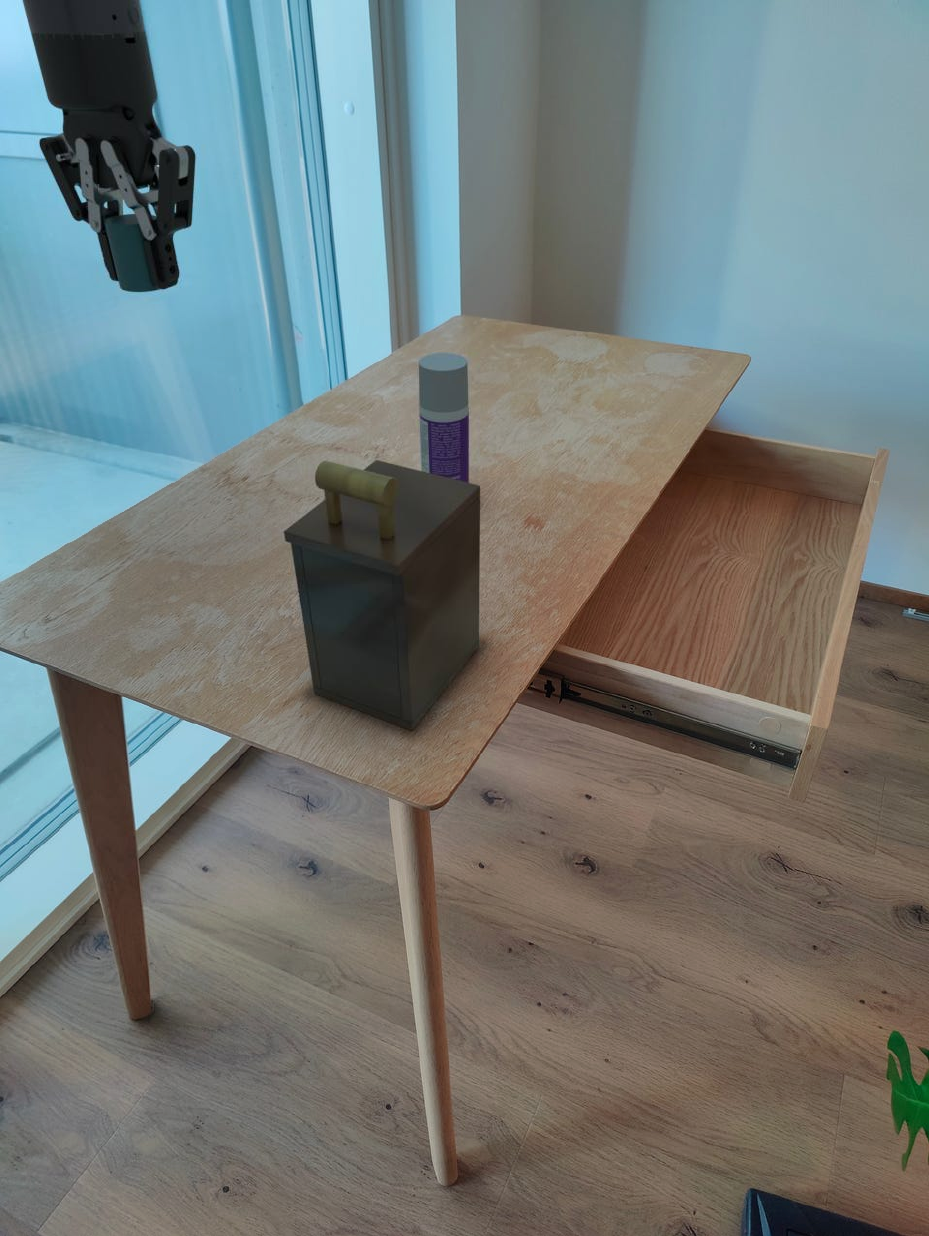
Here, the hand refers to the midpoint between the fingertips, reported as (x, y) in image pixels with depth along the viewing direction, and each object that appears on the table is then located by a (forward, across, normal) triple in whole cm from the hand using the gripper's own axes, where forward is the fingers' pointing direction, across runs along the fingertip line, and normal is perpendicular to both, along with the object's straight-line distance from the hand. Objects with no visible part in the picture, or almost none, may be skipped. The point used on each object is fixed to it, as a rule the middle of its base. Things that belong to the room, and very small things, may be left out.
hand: (145, 281), depth 68 cm
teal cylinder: (0, 0, 0) cm, 0 cm away
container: (+23, +20, +14) cm, 34 cm away
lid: (+9, +29, -10) cm, 32 cm away
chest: (+23, +29, -10) cm, 38 cm away
